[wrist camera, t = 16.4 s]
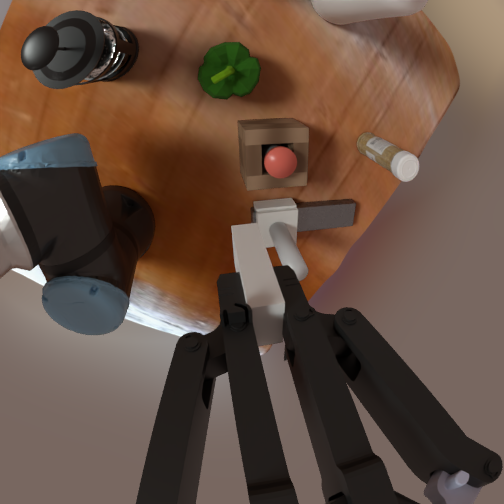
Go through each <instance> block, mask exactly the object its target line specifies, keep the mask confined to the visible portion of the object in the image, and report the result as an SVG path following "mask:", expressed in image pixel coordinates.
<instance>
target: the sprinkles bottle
mask: <svg viewBox="0 0 504 504" xmlns="http://www.w3.org/2000/svg"><path fill="white" fill-rule="evenodd" d="M357 148H358V150H359V152H360V153H361V154H363V155H366V156H367V157H369V158H370V159H371V160H373V161H375V162H376V163H378V164H379V165H381V166H382V167H384V168H386V169H387V170H389V171H390V172H392V173H393V175H394V176H395V177H397V178H398V179H400V180H401V181H404V182H408V181H411V180H412V179H414V178H415V176H416V175H417V173H418V171H419V161H418V159H417V157H416V156H415V155H413V154H411V153H410V152H408V151H404V150H402V149H400V148H398V147H397V146H396V145H394V144H392V143H390V142H388V141H386V140H384V139H382V138H380V137H377V136H375V135H374V134H372V133H369V132H367V133H363V134H362V135H361V136H360V137H359V138H358V141H357Z"/></svg>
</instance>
